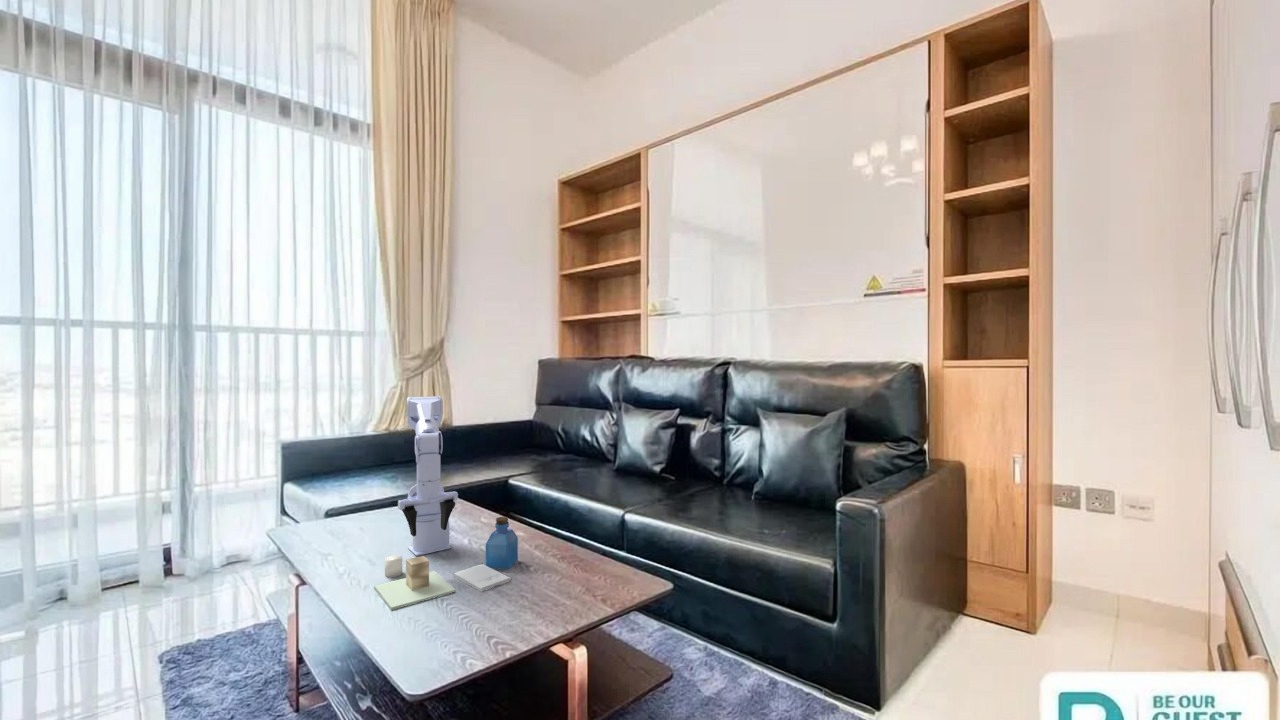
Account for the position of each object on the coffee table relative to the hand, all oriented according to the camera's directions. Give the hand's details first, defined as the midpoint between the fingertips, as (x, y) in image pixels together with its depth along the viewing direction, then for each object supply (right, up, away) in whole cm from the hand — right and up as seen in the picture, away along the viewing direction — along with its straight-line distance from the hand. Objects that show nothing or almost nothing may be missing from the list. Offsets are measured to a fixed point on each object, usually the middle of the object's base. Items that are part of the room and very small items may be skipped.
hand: (428, 532), depth 141 cm
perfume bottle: (+18, -10, +3) cm, 21 cm away
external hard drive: (+16, -10, -6) cm, 20 cm away
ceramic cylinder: (-7, -10, -3) cm, 13 cm away
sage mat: (+2, -10, -13) cm, 16 cm away
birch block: (+2, -9, -12) cm, 15 cm away
